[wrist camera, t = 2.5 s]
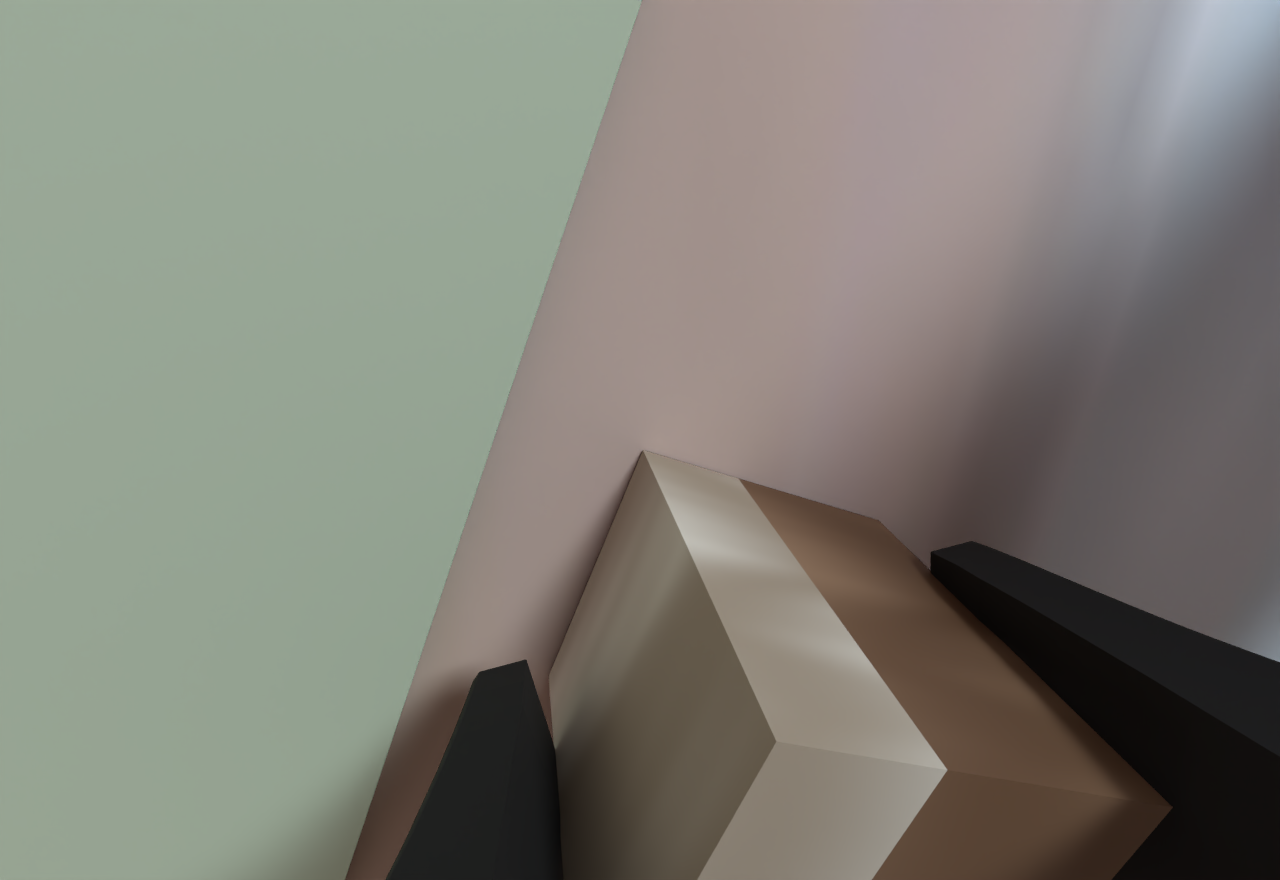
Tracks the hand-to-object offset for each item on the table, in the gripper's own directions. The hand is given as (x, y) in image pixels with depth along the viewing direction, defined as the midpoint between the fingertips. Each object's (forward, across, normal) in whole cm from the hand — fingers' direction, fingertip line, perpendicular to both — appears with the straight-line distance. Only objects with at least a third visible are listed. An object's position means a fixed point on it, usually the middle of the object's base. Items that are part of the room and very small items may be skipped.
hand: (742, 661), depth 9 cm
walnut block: (+1, 0, 0) cm, 1 cm away
